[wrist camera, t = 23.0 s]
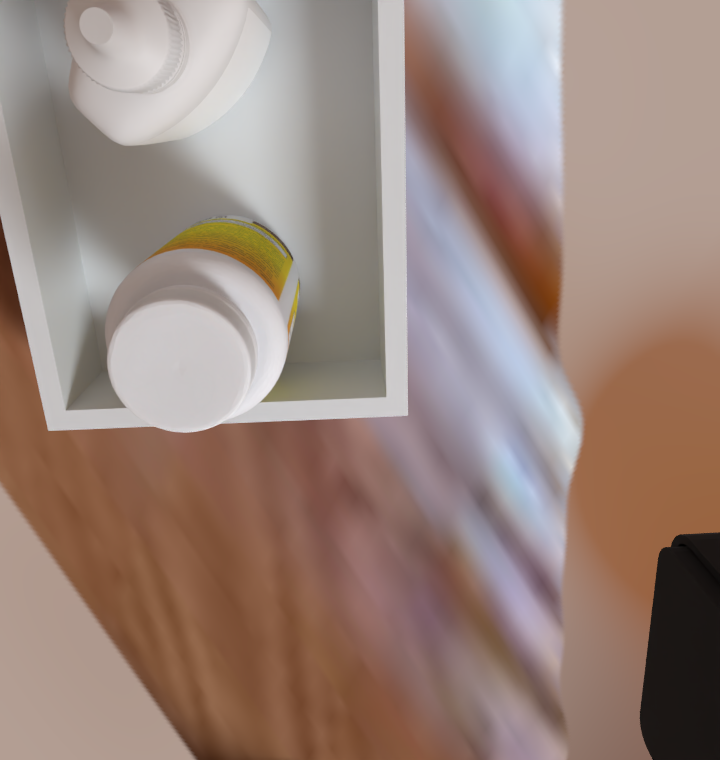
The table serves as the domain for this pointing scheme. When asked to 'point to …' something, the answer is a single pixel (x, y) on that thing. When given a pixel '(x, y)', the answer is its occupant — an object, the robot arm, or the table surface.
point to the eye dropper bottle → (162, 63)
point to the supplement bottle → (203, 324)
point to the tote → (218, 206)
